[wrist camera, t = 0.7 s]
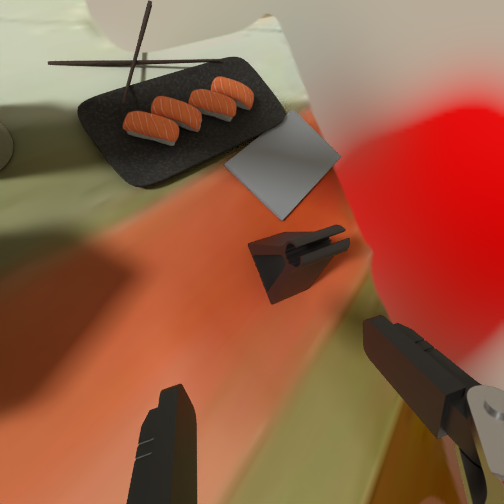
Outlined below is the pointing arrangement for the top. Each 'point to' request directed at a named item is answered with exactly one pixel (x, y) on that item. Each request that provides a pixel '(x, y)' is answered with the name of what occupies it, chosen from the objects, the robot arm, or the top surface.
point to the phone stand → (294, 259)
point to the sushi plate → (176, 115)
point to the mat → (283, 164)
